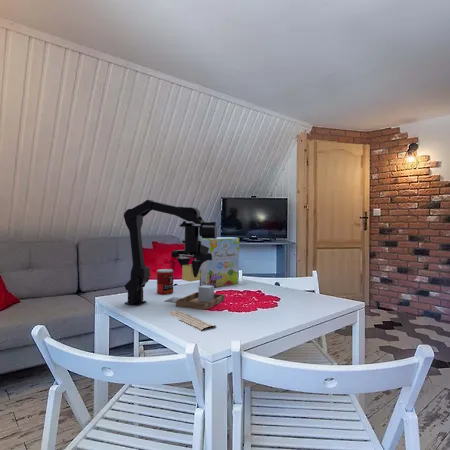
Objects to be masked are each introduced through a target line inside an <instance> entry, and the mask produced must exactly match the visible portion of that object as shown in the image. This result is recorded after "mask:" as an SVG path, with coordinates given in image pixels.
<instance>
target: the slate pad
mask: <svg viewBox="0 0 450 450" xmlns="http://www.w3.org/2000/svg"><path fill="white" fill-rule="evenodd" d="M181 298H182V297H178V296H177V297H176V296H175V297H174V296H173V297H171V298H168V299H165V300H164V301H163V302H164V303H165V302H166V303H173V304H174V303H175V304H176V300H179V299H181Z"/></svg>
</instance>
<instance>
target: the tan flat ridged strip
mask: <svg viewBox="0 0 450 450" xmlns="http://www.w3.org/2000/svg"><path fill="white" fill-rule="evenodd" d="M168 314H169V315H171V316H173V317H175V318H178V321H179V322H181V323H183V322H184V323H183V324H185V323H186V324H185V325H187V324H188V326H189V325H190V327H191V326H193V327H192V328H194V327H195V328H194V329H196V328H197V329H196V330H198V329H199V330H198V331H200V330H202V331H203V329H206V328H208V327H211V326H213V327H212V328H214V326H215V325H214V324H211V323H208V322H206V321H204V320H202V319H200V318H197V317H195V316H192V315H190V314H188V313H185V312H184V311H181V310H172V311H169V312H168Z"/></svg>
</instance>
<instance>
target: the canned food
mask: <svg viewBox="0 0 450 450" xmlns="http://www.w3.org/2000/svg"><path fill="white" fill-rule="evenodd" d="M156 291H157V294H158V295H172V294H173V293H174V270H173V269H172V268H162V269H157V270H156Z"/></svg>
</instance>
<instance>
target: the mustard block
mask: <svg viewBox="0 0 450 450" xmlns="http://www.w3.org/2000/svg"><path fill="white" fill-rule="evenodd" d="M181 271H182V273H181V274H182V275H181V279H182V281H186V282H196V281H200V269H199V272H198V275H197V277H194V274H193V268H192V263H191V264H190V263H189V265H182V267H181Z"/></svg>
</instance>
